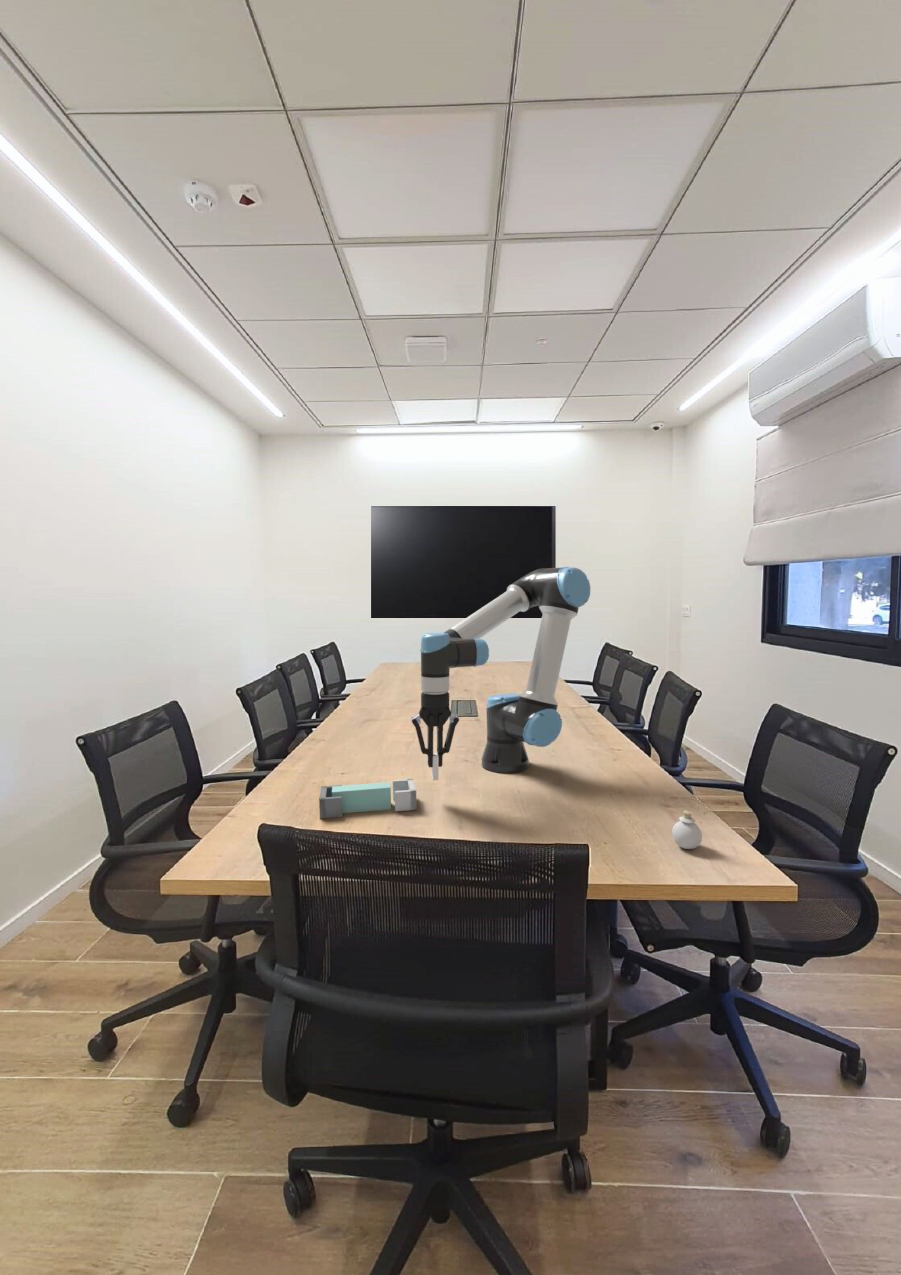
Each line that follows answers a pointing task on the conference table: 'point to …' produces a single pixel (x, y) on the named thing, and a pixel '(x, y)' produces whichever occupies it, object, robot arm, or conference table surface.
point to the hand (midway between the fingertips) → (435, 778)
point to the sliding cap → (404, 795)
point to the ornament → (687, 831)
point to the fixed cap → (329, 803)
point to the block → (364, 797)
